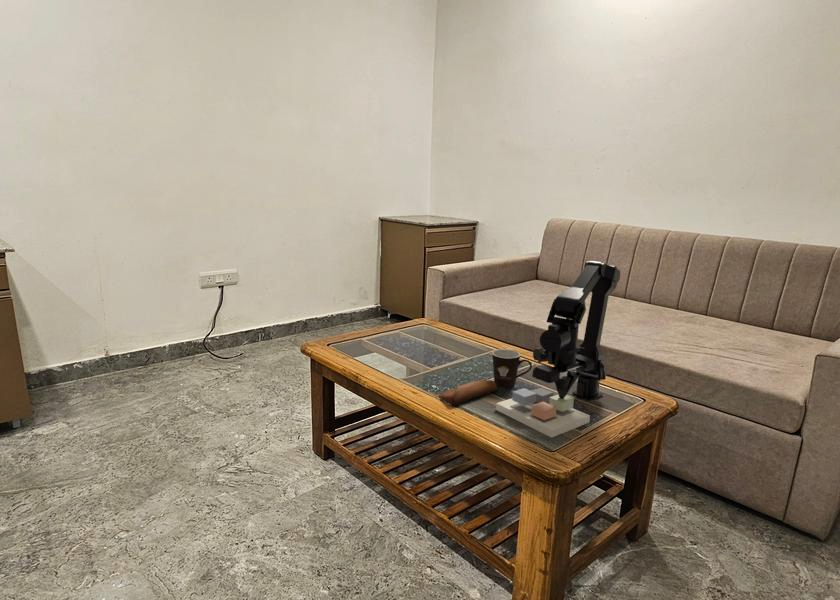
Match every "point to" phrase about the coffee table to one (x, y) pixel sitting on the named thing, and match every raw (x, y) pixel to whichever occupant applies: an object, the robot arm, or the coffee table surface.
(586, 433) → the coffee table surface
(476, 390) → the sunglasses case
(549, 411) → the terracotta key
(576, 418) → the keypad board
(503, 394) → the coffee table surface
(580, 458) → the coffee table surface
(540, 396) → the charcoal key
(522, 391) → the slate key
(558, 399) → the sage key
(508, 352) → the coffee mug
